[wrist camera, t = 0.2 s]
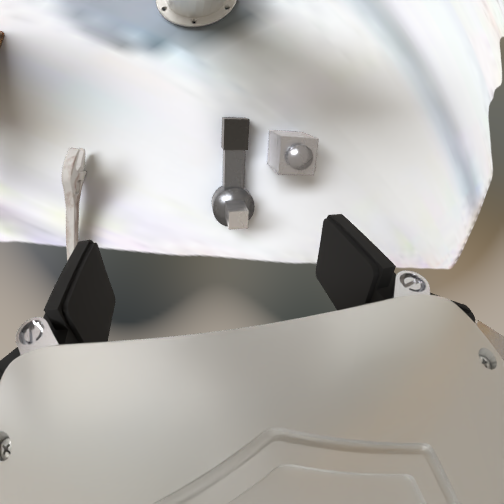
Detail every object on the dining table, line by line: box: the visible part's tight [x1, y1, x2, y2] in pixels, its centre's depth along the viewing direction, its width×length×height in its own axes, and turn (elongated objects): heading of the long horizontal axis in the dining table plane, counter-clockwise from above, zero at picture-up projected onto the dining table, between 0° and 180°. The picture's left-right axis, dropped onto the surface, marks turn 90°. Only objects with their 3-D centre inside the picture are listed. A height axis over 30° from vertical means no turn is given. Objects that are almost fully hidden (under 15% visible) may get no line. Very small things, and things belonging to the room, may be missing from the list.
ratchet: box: [212, 117, 254, 229], centre depth 42 cm, size 18×7×8 cm, turn 177°
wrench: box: [62, 148, 87, 261], centre depth 41 cm, size 8×2×30 cm
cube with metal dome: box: [267, 130, 319, 175], centre depth 42 cm, size 6×6×8 cm
